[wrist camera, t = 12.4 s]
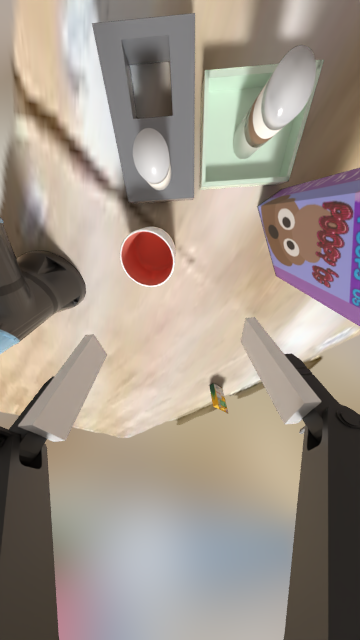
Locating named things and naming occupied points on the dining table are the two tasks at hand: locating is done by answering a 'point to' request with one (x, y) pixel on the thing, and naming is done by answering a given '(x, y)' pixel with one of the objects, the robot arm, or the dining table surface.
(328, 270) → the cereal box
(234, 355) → the dining table surface
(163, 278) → the cup
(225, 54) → the dining table surface
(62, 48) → the dining table surface
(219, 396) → the crayon box
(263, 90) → the cylinder
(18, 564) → the robot arm
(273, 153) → the parts tray
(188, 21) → the fuse holder block
